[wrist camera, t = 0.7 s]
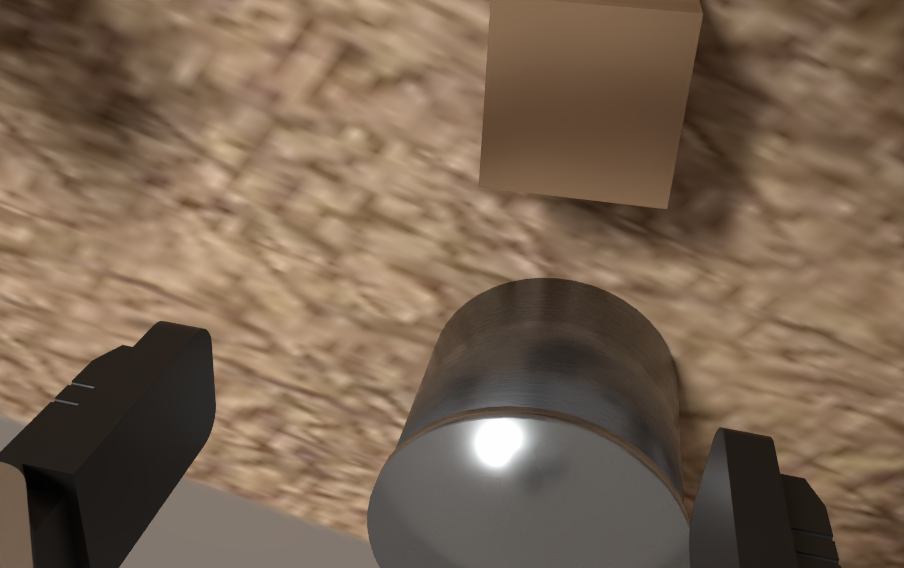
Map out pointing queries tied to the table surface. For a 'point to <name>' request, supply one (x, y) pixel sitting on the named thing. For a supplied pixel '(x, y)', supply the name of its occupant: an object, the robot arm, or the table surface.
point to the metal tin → (538, 440)
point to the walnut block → (587, 97)
